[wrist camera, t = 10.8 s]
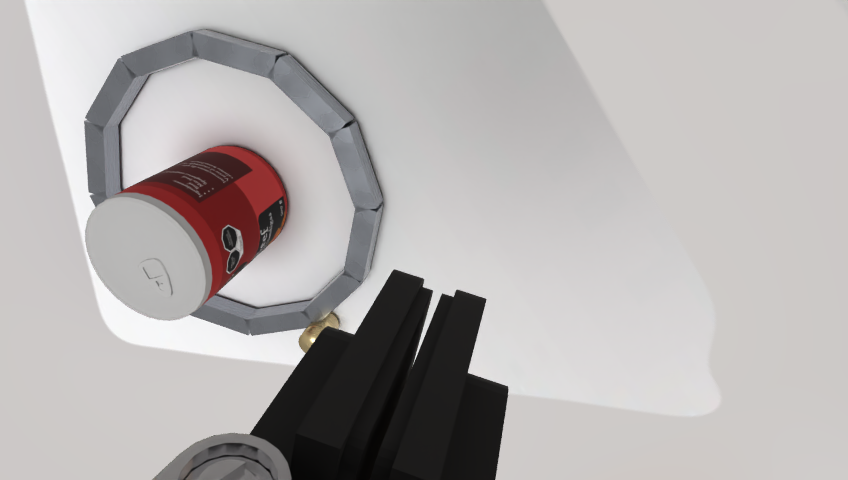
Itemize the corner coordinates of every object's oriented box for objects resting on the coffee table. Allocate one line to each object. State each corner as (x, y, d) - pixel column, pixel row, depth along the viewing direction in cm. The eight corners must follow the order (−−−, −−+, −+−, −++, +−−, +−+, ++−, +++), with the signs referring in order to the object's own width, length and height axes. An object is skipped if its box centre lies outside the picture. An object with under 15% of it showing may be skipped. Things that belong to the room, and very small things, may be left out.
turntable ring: (94, -3, 38) (58, -1, 35) (407, 86, 35) (394, 95, 33) (107, 273, 48) (80, 291, 45) (351, 357, 45) (338, 380, 43)
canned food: (244, 260, 44) (153, 341, 35) (174, 178, 43) (58, 239, 33) (312, 212, 41) (233, 286, 31) (240, 121, 39) (132, 170, 30)
